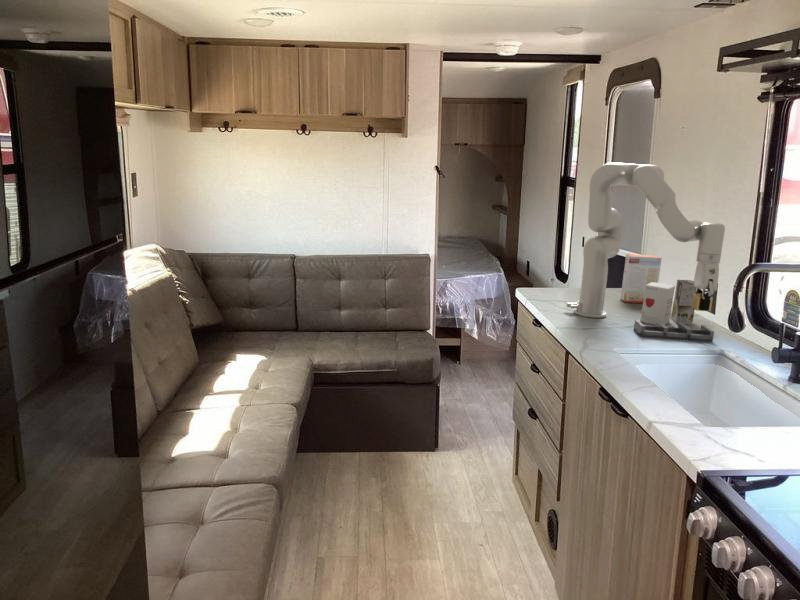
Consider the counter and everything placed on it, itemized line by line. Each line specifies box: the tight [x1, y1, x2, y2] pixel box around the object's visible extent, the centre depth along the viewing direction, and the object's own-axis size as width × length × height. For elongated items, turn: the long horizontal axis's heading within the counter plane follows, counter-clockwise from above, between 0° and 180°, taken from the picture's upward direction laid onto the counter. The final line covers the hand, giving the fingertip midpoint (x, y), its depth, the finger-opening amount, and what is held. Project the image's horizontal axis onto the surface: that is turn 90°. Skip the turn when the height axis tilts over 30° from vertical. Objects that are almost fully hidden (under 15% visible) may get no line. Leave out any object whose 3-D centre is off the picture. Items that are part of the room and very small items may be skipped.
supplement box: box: [639, 282, 676, 326], centre depth 251 cm, size 9×9×15 cm
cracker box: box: [620, 254, 662, 304], centre depth 285 cm, size 14×6×21 cm, turn 88°
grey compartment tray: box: [633, 319, 715, 343], centre depth 233 cm, size 25×9×4 cm, turn 85°
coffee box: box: [670, 279, 696, 326], centre depth 255 cm, size 9×6×16 cm
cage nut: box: [691, 292, 714, 312], centre depth 230 cm, size 5×5×6 cm
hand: (700, 307), depth 230 cm, fingers closed on cage nut, 5 cm apart
